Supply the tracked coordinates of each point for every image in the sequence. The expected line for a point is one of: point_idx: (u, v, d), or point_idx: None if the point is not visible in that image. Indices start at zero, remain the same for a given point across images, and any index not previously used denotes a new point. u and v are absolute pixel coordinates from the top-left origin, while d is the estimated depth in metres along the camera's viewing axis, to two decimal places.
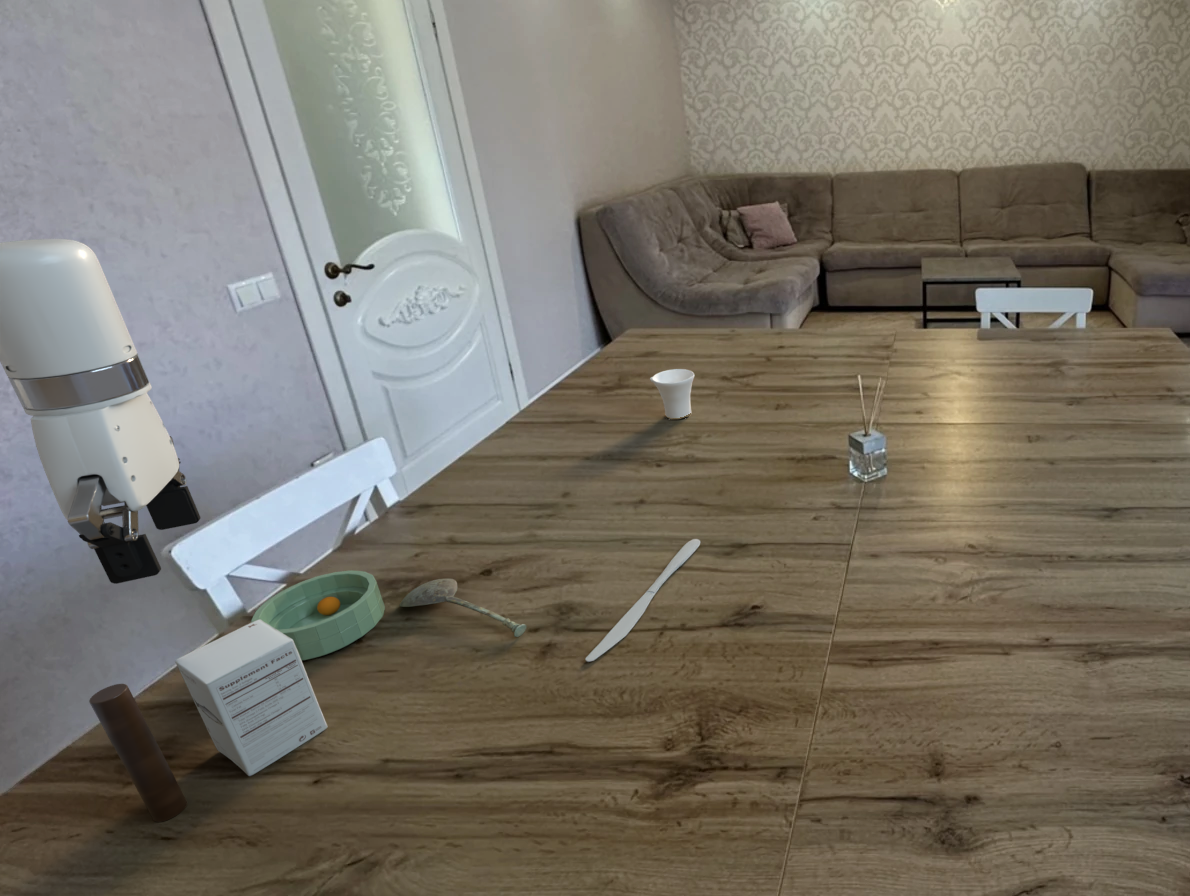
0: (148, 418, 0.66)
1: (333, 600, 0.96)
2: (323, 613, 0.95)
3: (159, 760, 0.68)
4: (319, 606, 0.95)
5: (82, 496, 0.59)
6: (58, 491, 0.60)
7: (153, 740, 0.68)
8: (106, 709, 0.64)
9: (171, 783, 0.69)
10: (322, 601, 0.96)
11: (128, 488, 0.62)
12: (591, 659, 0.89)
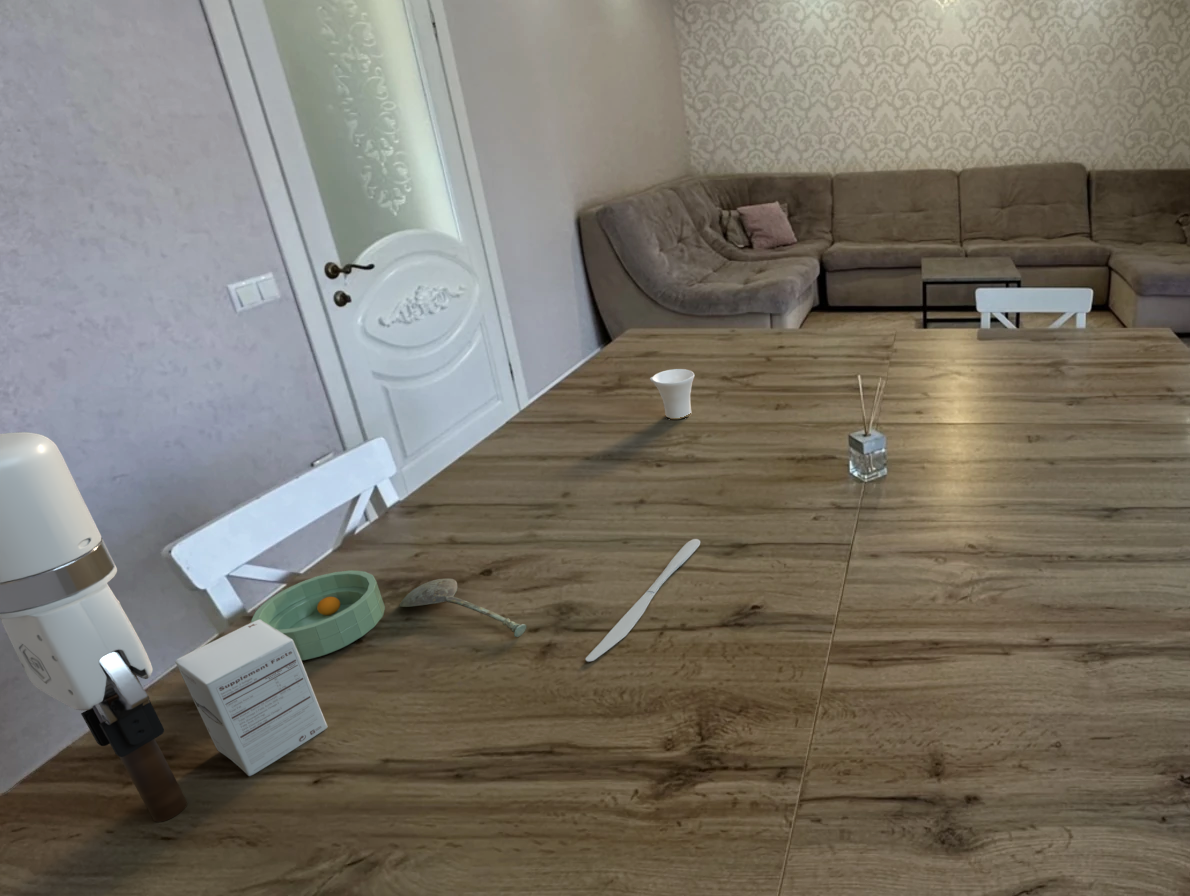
0: None
1: (333, 600, 0.96)
2: (323, 613, 0.95)
3: (159, 760, 0.68)
4: (319, 606, 0.95)
5: (124, 681, 0.62)
6: (79, 679, 0.60)
7: (153, 740, 0.68)
8: None
9: (172, 783, 0.69)
10: (322, 601, 0.96)
11: (145, 655, 0.63)
12: (591, 659, 0.89)
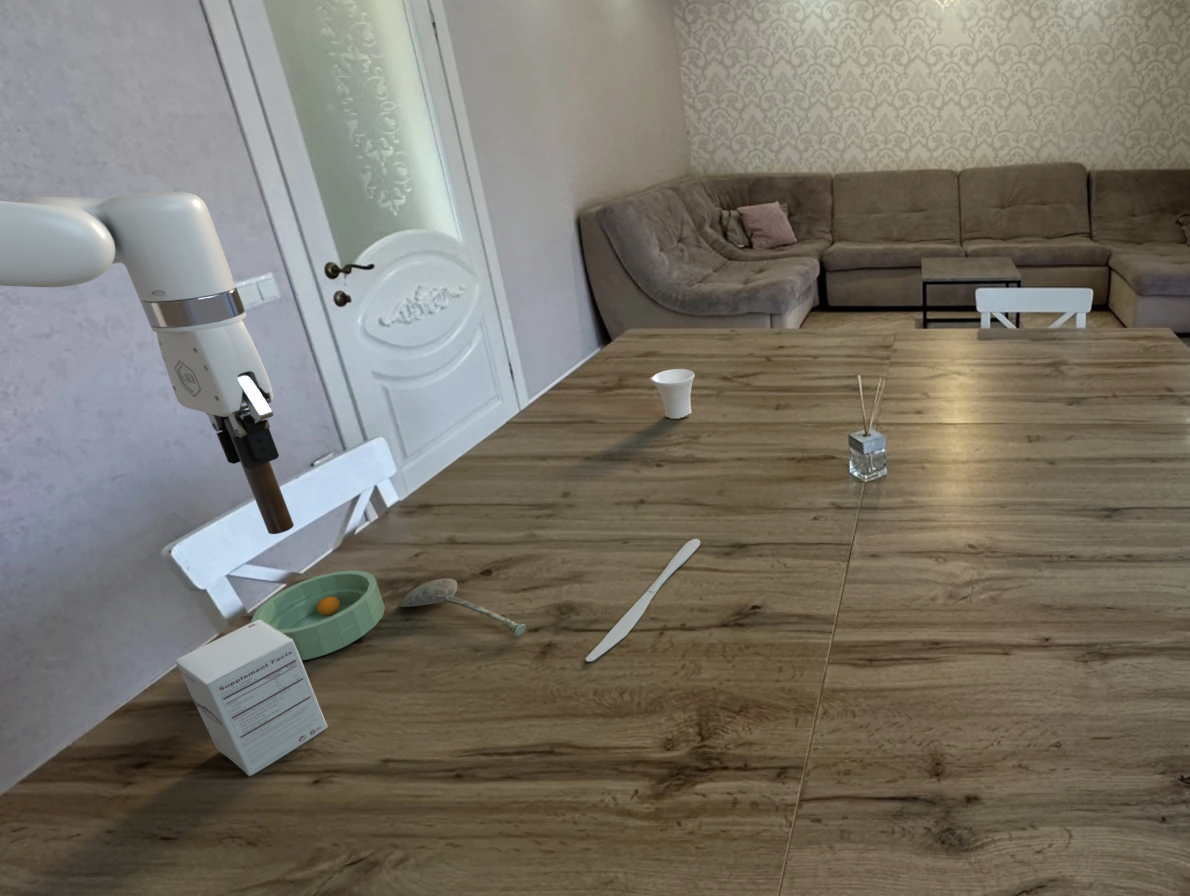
0: None
1: (333, 600, 0.96)
2: (323, 613, 0.95)
3: (274, 481, 0.85)
4: (319, 606, 0.95)
5: (255, 397, 0.79)
6: (224, 387, 0.76)
7: (270, 464, 0.85)
8: None
9: (283, 503, 0.86)
10: (322, 601, 0.96)
11: (269, 382, 0.80)
12: (591, 659, 0.89)
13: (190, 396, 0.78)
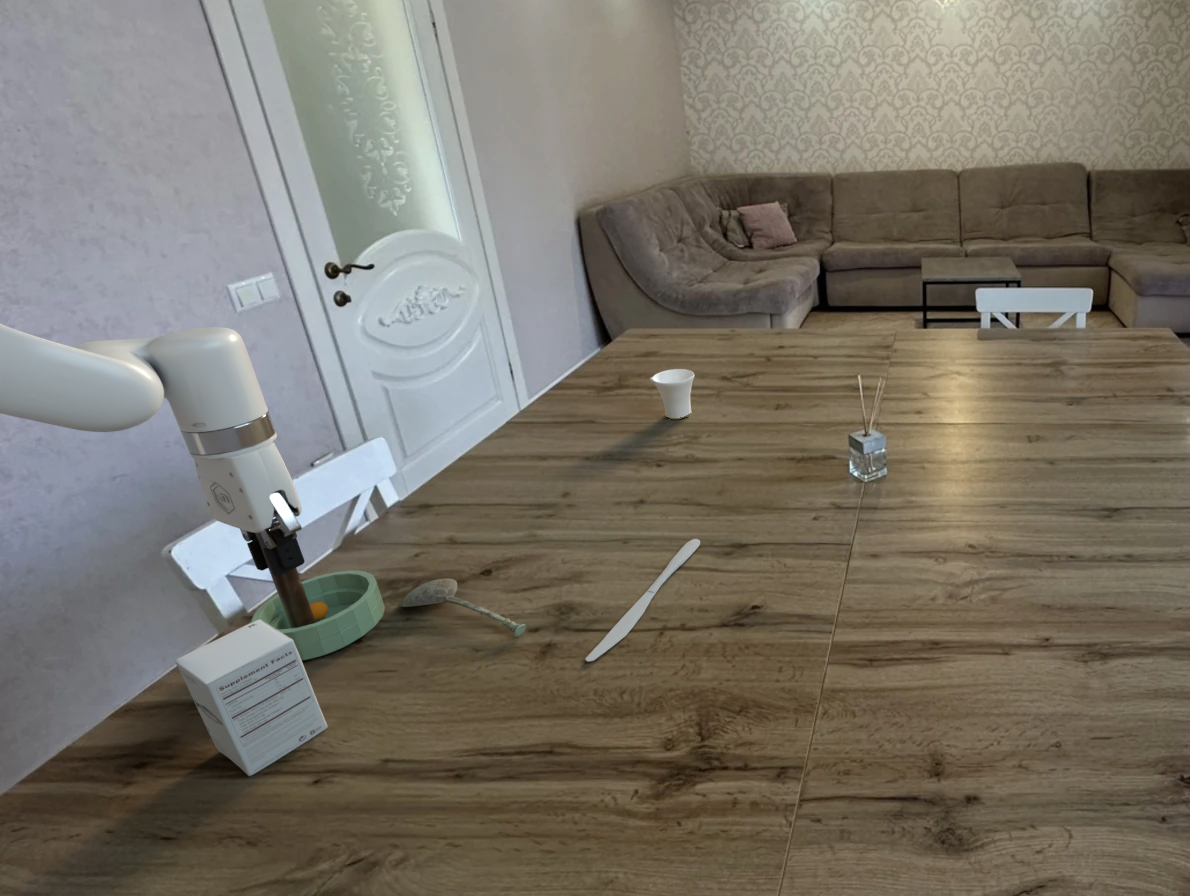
0: None
1: (316, 612, 0.94)
2: None
3: (299, 585, 0.91)
4: None
5: (285, 514, 0.84)
6: (257, 507, 0.82)
7: (296, 569, 0.90)
8: None
9: (307, 604, 0.92)
10: (312, 605, 0.95)
11: (298, 497, 0.86)
12: (591, 659, 0.89)
13: (224, 513, 0.84)
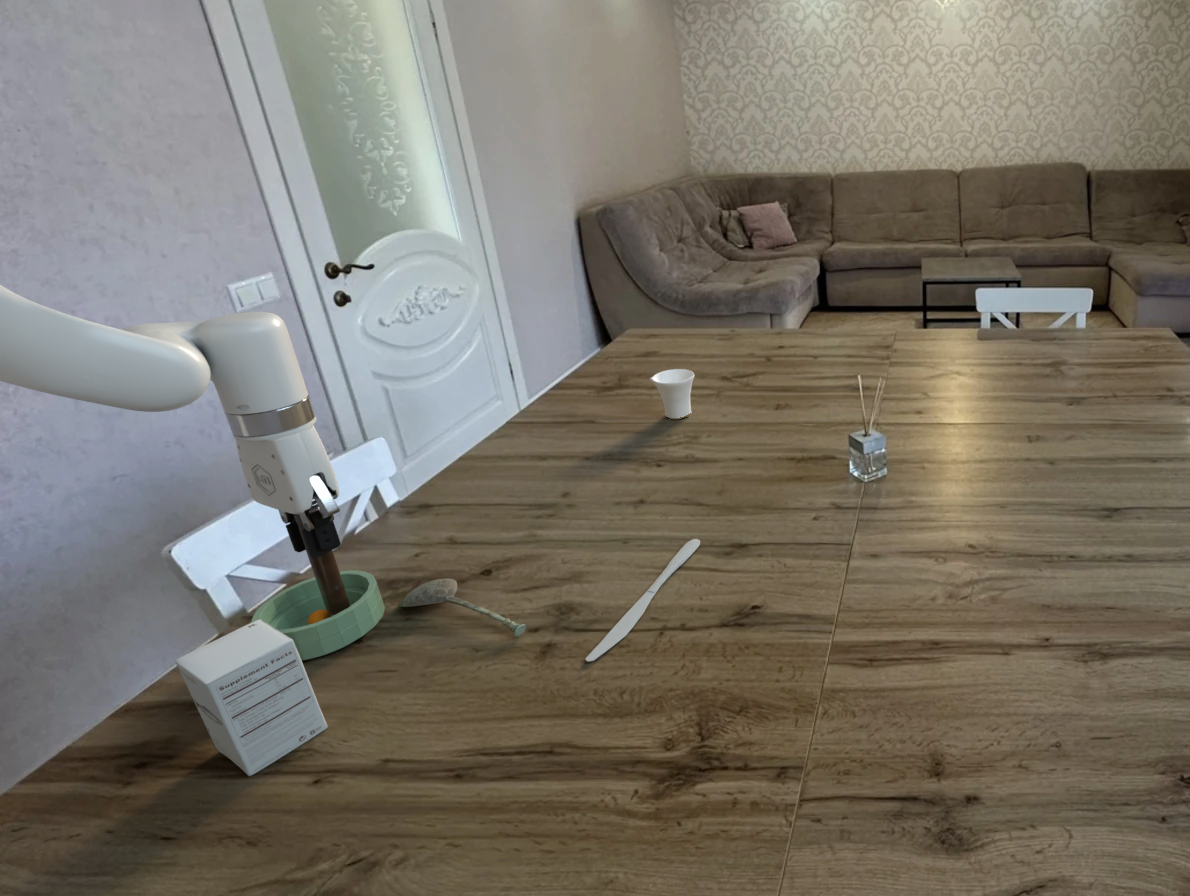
0: None
1: None
2: (308, 621, 0.93)
3: (335, 567, 0.92)
4: None
5: (324, 496, 0.86)
6: (298, 489, 0.84)
7: (332, 551, 0.92)
8: None
9: (342, 586, 0.93)
10: None
11: (336, 480, 0.87)
12: (591, 659, 0.89)
13: (265, 494, 0.85)
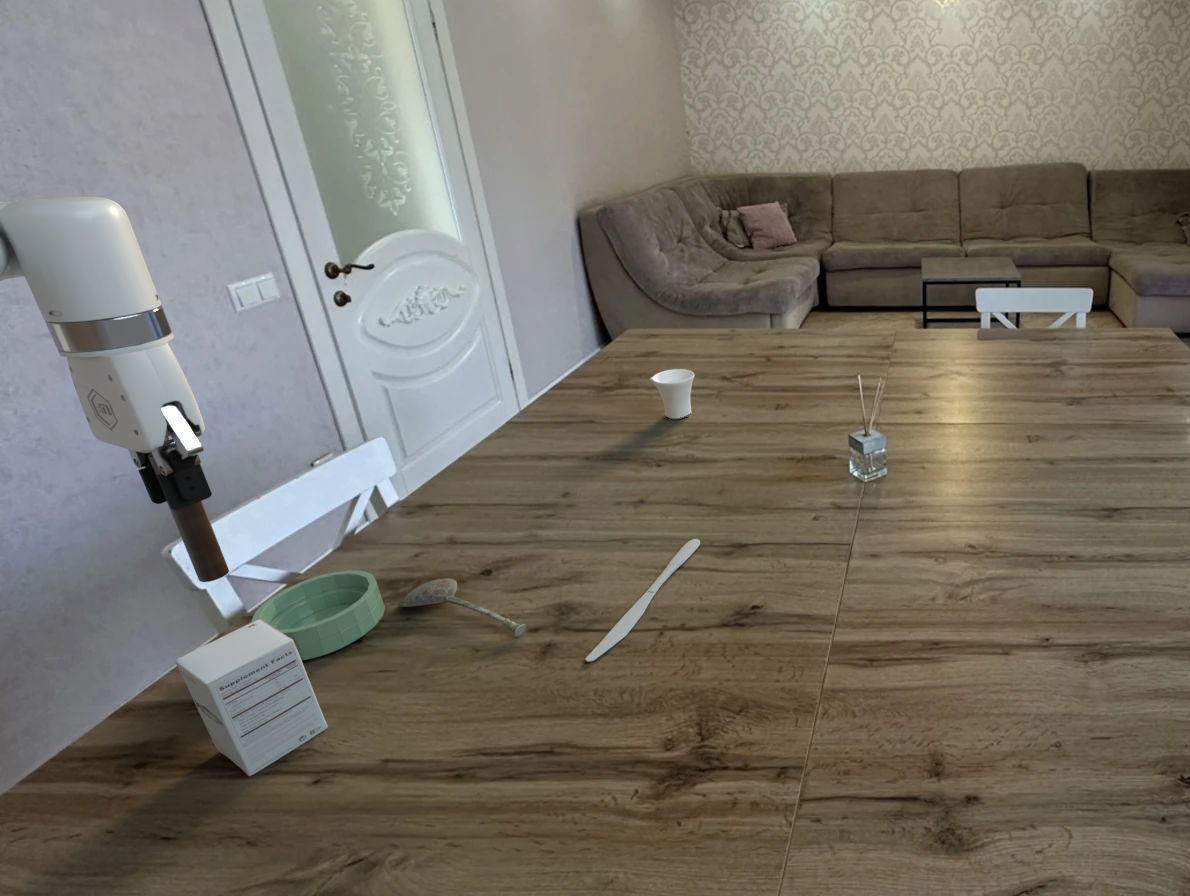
0: None
1: None
2: None
3: (206, 523, 0.76)
4: None
5: (182, 430, 0.69)
6: (144, 419, 0.67)
7: (202, 503, 0.75)
8: None
9: (216, 547, 0.77)
10: None
11: (199, 412, 0.71)
12: (591, 659, 0.89)
13: (106, 429, 0.69)
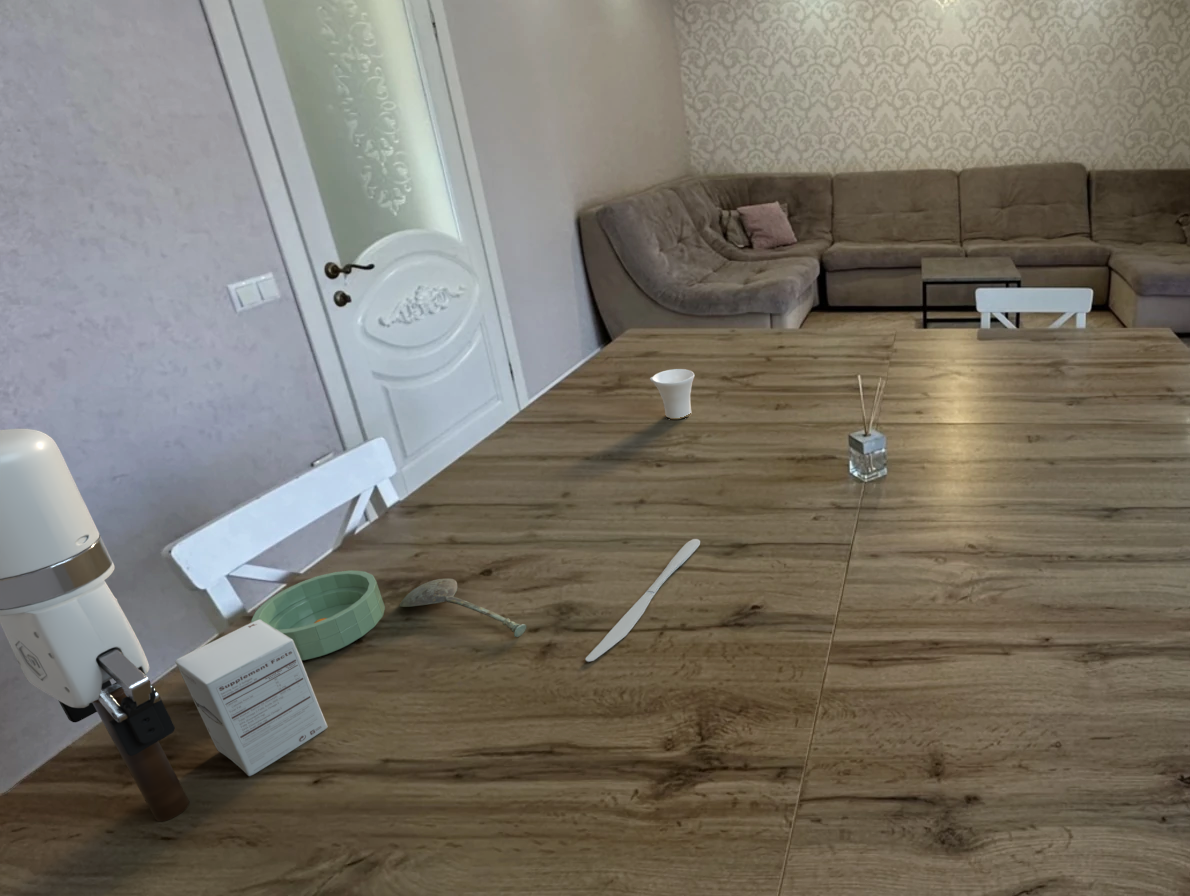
0: None
1: None
2: None
3: (161, 759, 0.68)
4: None
5: (120, 667, 0.61)
6: (76, 676, 0.59)
7: None
8: None
9: (174, 782, 0.69)
10: None
11: (142, 653, 0.63)
12: (591, 659, 0.89)
13: (37, 678, 0.61)
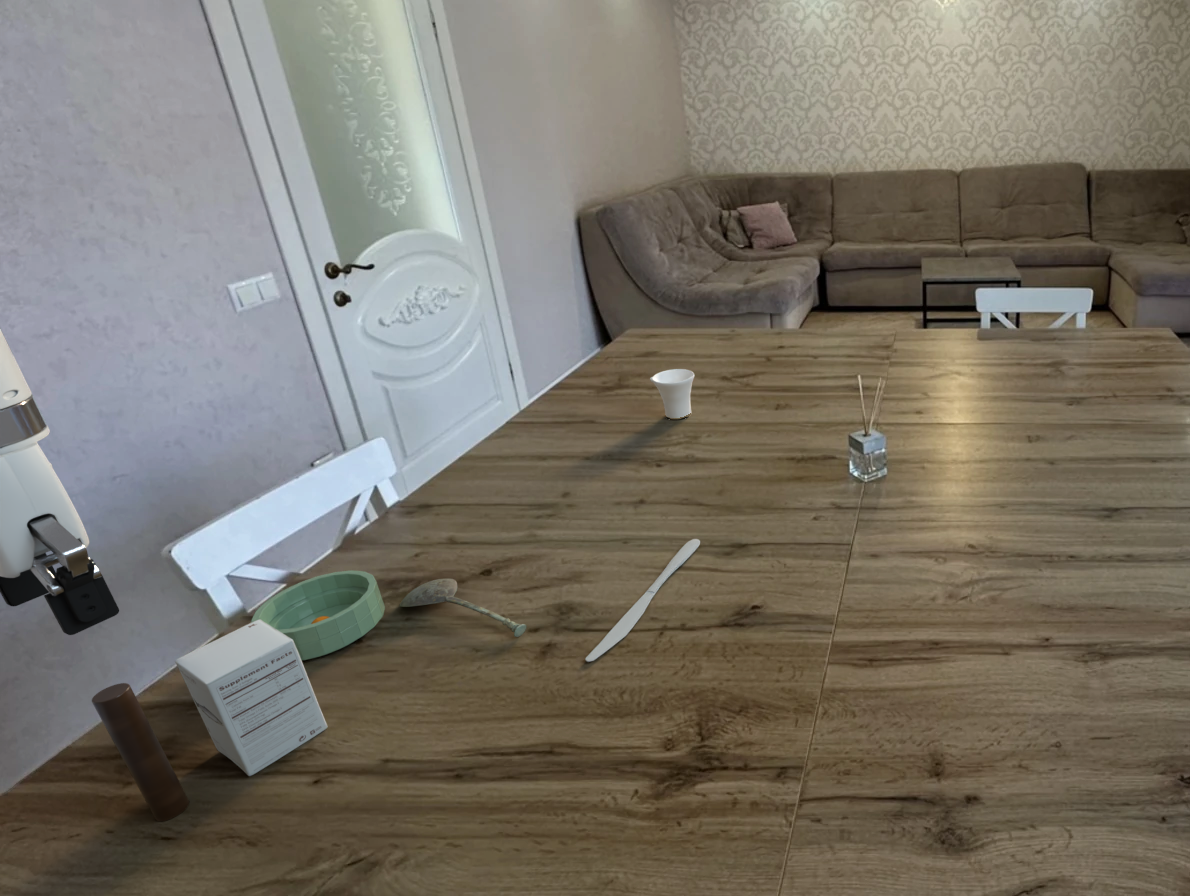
0: None
1: None
2: None
3: (161, 759, 0.68)
4: None
5: (54, 534, 0.56)
6: (4, 540, 0.55)
7: (155, 739, 0.68)
8: (109, 708, 0.64)
9: (174, 782, 0.69)
10: None
11: (80, 524, 0.59)
12: (591, 659, 0.89)
13: None
